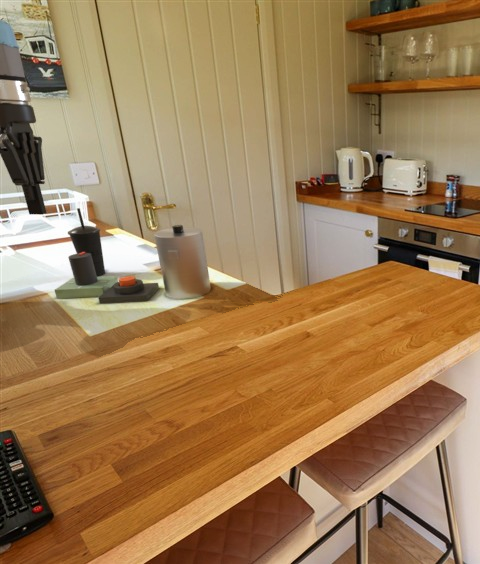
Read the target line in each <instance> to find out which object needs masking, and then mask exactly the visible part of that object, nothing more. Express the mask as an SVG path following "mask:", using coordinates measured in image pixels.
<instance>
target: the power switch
mask: <svg viewBox="0 0 480 564" xmlns="http://www.w3.org/2000/svg"><path fill="white" fill-rule="evenodd" d="M135 279H136V277H135V276H134V275H127V276H122V277H120V278H119V279H118V282H119V283H120V286H131V285H134V284H136V280H135Z"/></svg>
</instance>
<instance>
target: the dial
mask: <svg viewBox="0 0 480 564" xmlns="http://www.w3.org/2000/svg"><path fill="white" fill-rule="evenodd" d="M68 261H69V265H70V268H71V271H72V275H73V278H74V279H75V283H76V285H90V284H93V283H96V282H97V281H98V280H97V276H96V272H95V268H94V264H93V260H92V256H91V254H90V253H85V252H82V253H78V254H77V253H73V254H71V255H68Z"/></svg>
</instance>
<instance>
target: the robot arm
mask: <svg viewBox="0 0 480 564" xmlns="http://www.w3.org/2000/svg"><path fill="white" fill-rule="evenodd" d="M23 66H24V65H23V62H22V57H21V53H20V45H18V41H17V38H16V34H15V32H14V28H13V27H12V25H11V24H10V23H8V21H5V20H2V19H0V157H1V159H2V161H3V164H4V166H5V168H6V171H7V174H8V176H9V178H10V180H11V182H12V183H13V184H14V185H15V186H16V187H17V186H18V187H19V186H21V188H22V193H23V197H24V199H25V203H26V204H25V205H26V207H27V209H28V214H29V215H46V214H47V209H46V205H45V200H44V197H43V193H42V189H41V185H45V184H46V182H45V179H46V177H45V168H44V159H43V151H42V150H43V149H42V146H43V139H42V137H41V136H36V135H35V134H34V131H33V128H32V126H31V125H30V124H36V123H37V118H36V115H35V110H34V109H35V108H34V106H32V105H30V104H29V103H31V102H32V99H31V95H30V91H31V88H30V87H29V86H28V83H27V79H26V76H25V75H26V74H25V71H24V67H23Z"/></svg>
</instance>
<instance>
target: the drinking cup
mask: <svg viewBox="0 0 480 564" xmlns="http://www.w3.org/2000/svg"><path fill="white" fill-rule="evenodd" d="M76 211H77V214H78V215H77V216H78V220H79V222H80V226H77V227H76V226H75V227H74V228H72V229H70V230H68V231H67V235H69V237H70V240H71V242H72V245H73V247H74V250H75V252H76V253H75V254H78V253H82V252H85V253H90V254H91V256H92V260H93V264H94V268H95V272H96V276H97V277H103V276H105V275H106V270H105V261H104V255H103V247H102V240H101V233H100V231H101V228H99V227H96V226H92V225H85V224H84V219H83V215H82V211H81V208H80V207H78V208H76Z"/></svg>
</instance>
